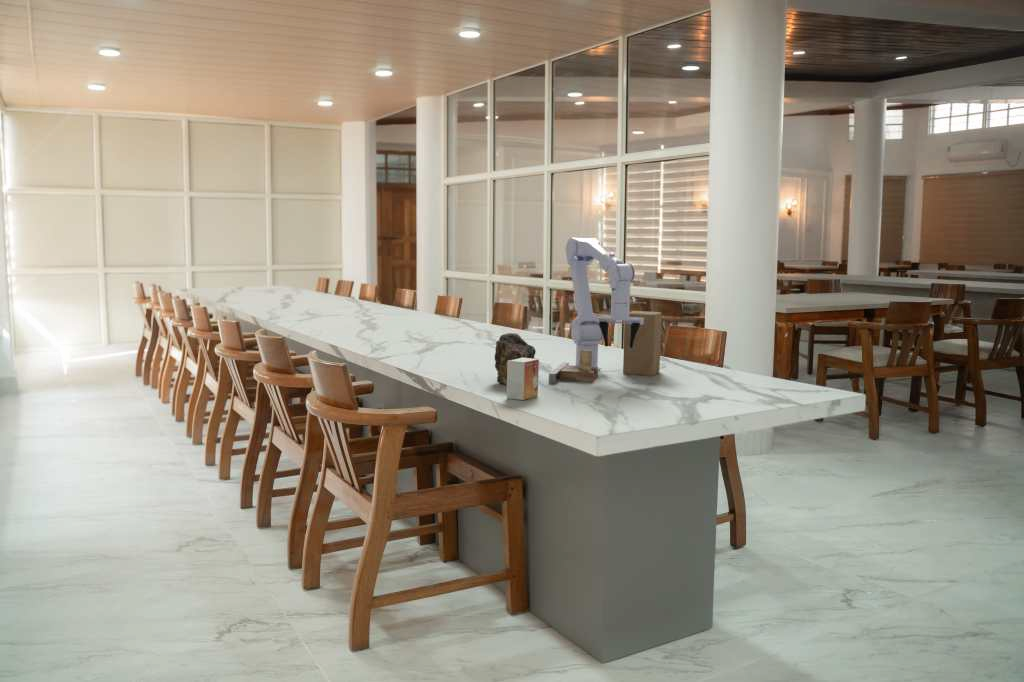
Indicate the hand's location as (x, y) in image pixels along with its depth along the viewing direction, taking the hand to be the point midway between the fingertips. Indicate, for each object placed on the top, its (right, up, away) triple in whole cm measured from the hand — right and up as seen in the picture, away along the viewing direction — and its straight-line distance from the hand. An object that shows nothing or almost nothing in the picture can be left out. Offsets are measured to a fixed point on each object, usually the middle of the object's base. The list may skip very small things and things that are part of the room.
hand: (618, 346), depth 265 cm
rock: (-32, -11, -8) cm, 35 cm away
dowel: (-10, -10, +2) cm, 14 cm away
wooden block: (+9, -9, +15) cm, 20 cm away
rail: (-18, -10, +3) cm, 21 cm away
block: (-12, -10, +2) cm, 16 cm away
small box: (-30, -14, -30) cm, 45 cm away
